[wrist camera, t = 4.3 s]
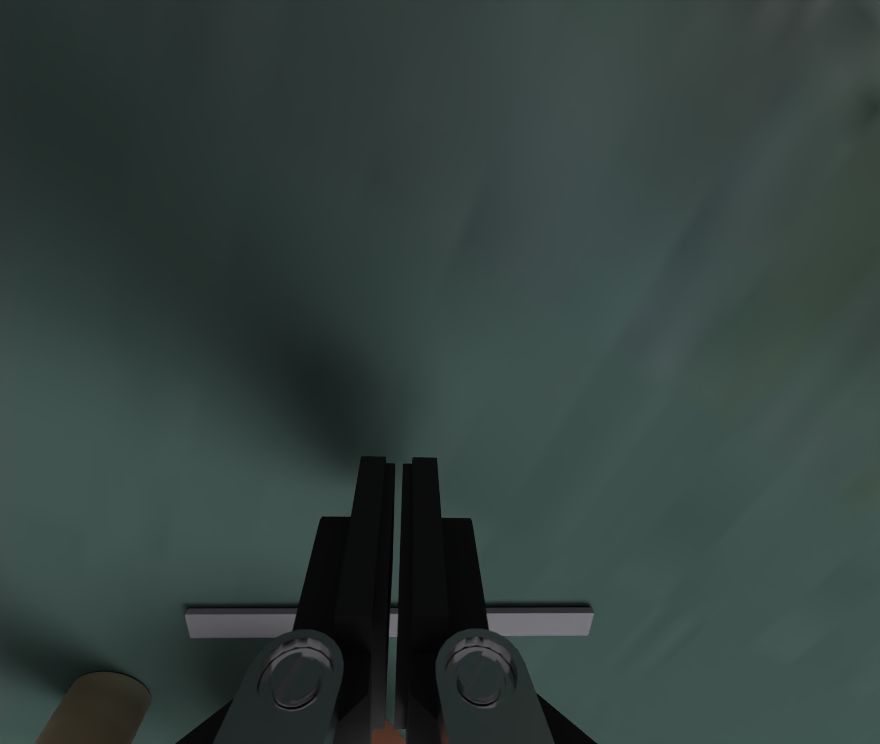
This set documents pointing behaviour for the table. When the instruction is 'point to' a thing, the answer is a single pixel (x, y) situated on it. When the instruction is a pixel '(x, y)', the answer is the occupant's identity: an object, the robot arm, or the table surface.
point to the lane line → (282, 621)
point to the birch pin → (98, 711)
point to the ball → (387, 735)
